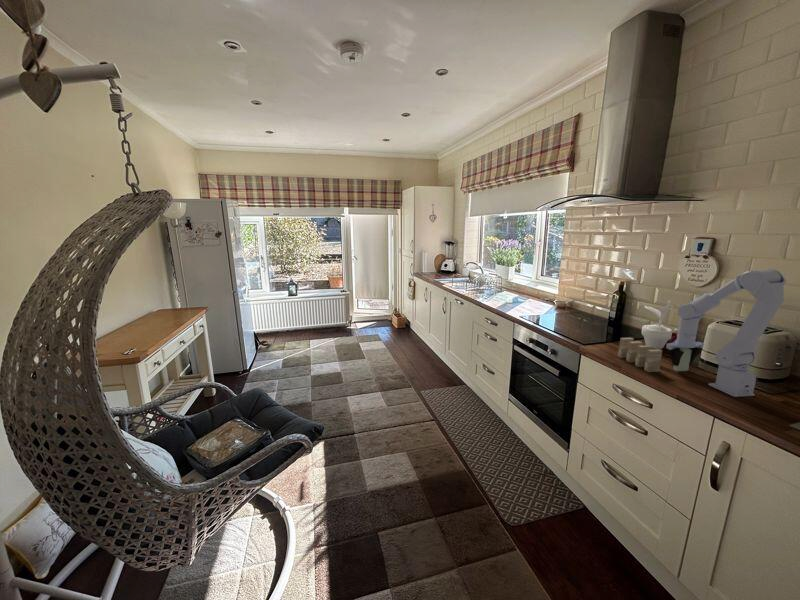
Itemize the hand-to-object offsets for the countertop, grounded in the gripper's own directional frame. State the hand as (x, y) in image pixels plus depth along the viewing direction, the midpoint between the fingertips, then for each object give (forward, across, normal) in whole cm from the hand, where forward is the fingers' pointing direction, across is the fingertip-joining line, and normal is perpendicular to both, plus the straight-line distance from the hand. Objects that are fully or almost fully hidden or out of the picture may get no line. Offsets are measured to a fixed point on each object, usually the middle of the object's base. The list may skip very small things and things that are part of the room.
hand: (681, 364), depth 137 cm
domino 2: (+2, +12, -11) cm, 16 cm away
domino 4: (+2, +12, -1) cm, 12 cm away
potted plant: (+3, -11, -26) cm, 28 cm away
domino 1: (+2, +12, -16) cm, 20 cm away
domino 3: (+2, +12, -6) cm, 14 cm away
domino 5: (+2, 0, 0) cm, 2 cm away
